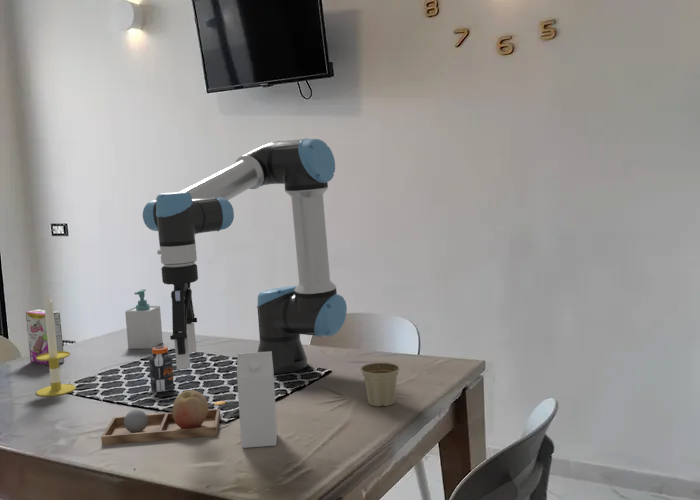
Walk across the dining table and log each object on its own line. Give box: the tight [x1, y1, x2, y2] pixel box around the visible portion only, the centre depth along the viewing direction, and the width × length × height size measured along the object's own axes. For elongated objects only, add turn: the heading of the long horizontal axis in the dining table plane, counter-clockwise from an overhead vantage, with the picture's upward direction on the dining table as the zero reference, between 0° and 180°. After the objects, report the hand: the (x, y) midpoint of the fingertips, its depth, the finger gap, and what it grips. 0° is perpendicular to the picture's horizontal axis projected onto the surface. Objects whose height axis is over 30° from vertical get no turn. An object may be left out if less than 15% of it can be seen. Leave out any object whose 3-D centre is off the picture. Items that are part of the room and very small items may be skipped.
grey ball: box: [124, 409, 148, 433], centre depth 154 cm, size 5×5×5 cm
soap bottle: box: [124, 289, 163, 350], centre depth 238 cm, size 9×9×19 cm
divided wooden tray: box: [100, 408, 221, 446], centre depth 155 cm, size 24×12×2 cm, turn 97°
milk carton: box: [236, 351, 278, 449], centre depth 146 cm, size 7×7×19 cm
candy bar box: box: [25, 308, 65, 366], centre depth 221 cm, size 11×5×16 cm, turn 58°
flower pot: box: [360, 362, 401, 407], centre depth 168 cm, size 9×9×9 cm
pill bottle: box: [148, 345, 175, 393], centre depth 187 cm, size 6×6×11 cm
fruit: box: [171, 389, 209, 429], centre depth 155 cm, size 8×8×8 cm
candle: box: [36, 292, 77, 398], centre depth 189 cm, size 10×10×27 cm
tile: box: [213, 400, 227, 406], centre depth 172 cm, size 10×7×1 cm
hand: (187, 360), depth 154 cm, fingers open, 13 cm apart
